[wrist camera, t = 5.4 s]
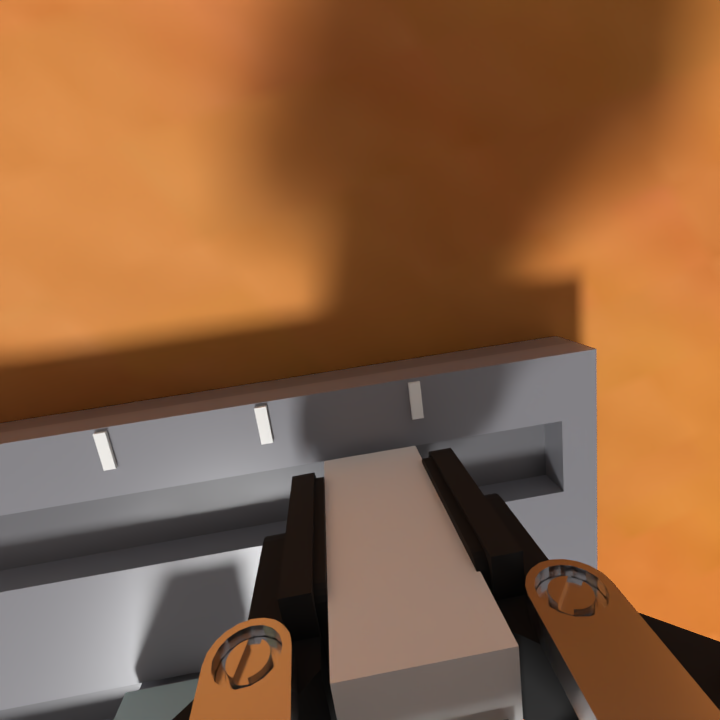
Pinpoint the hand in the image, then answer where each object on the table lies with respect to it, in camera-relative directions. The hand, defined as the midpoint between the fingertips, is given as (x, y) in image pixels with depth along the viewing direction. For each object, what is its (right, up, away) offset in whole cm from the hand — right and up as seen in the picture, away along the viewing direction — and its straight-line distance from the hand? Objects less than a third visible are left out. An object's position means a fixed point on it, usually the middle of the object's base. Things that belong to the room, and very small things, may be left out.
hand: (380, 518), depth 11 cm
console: (-4, -3, +4) cm, 6 cm away
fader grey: (0, 0, +2) cm, 2 cm away
